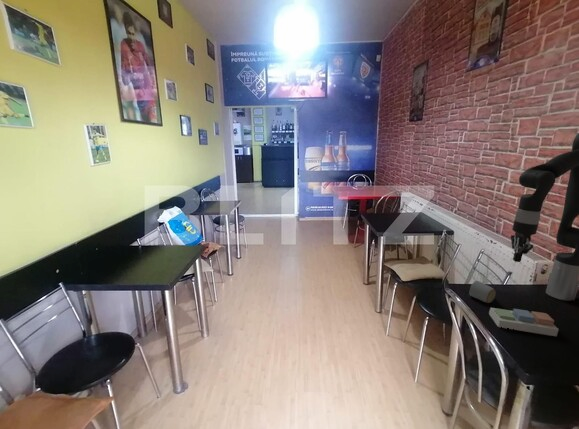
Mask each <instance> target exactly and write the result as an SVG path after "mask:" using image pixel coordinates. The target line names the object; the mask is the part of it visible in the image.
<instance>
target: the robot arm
mask: <svg viewBox="0 0 579 429" xmlns="http://www.w3.org/2000/svg"><path fill="white" fill-rule="evenodd" d="M568 172H569V176H568V183H567V187H566V193H565V197H564V206H563V211H562V216H561V219H560V222H559V226H558V229H557V232H556V233H557V234H556V238H555V239H556V244H558V245H559V246H563V247H567V248H571V249H574V251H573V252H559V253H556V255H555V258H554V261H553V262H554V263H553V266H552V269H551V272H550V276H549V278H548V279H549V280H548V282H547V286H546V289H545V293H546V294H547V295H548V296H550V297H552V298H555V299H558V300H561V301H565V302H566V301H575V300H576V295H577V293H578V290H579V228H578V227H574V226H573V223H574V221H575V219H576V218H578V216H579V132H578V133H577V134H576V135H575V136H574V139H573V142H572V146H571V150H570V151H567V152H564V153H561V154H558V155H556V156H554V157H553V158H551V159H550V160H548V161H546V162H545V163H542V164H538V165H535V166H532V167H530V168H527V169H526V170H524V171H522V173H521V174H520V175H519V178H518V183H519V184H520V185H521V186H522V187H524V188H528V189H535V191H534V192H533V193H525V194H522V195H521V196H520V199H519V203H518V208H517V210H516V212H515V217H514V221H513V225H512V229H511V230H512V232H513V231H514V234H513V235H512V234H511V235H510V240H511V248H512V249H513V256H512V260H513V261H514V262H515V263H521V261H522V258H523V255H527V254H528V253H529V252H530V251H532V249H533V248H534V244H531V241H532V236H533V235H534V236H535V235H536V234H537V232H538V227H539V223H540V220H541V212H542V208H543V205H544V201H545V199H546V198H547V197H548V195H549V193H550V192H551V190H552V188H553V187H554V185H555V183H556V179H558V178H560V177H561V176H563V175H564V174H567V173H568Z"/></svg>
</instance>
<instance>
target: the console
mask: <svg viewBox="0 0 579 429" xmlns="http://www.w3.org/2000/svg"><path fill="white" fill-rule="evenodd" d="M496 309H498V308H496ZM503 310H505V308H503ZM509 311H510V312H511V313H512V312H513V310H510V309H509ZM488 315H489V316H490V318H491V319H492V321H493V322H494V324H495V325H496V326H497V327H498V328H501V327H502V328H503V329H507V328H509V330H513V329H514V330H515V331H520V332H525V333H526V332H527V333H533V334H539V335H545V336H550V337H552V336H553V337H558V332H559V330H560V329H559V328H558V327H557V326H556V325H555V324H553V326H548V325H542V324H537V323H536V322H535V321H534V323H529V322H522V321H518V320H517V319H516V318H515V320H509V319H503V318H499V317H498V315H497V314H496V313H495V307H490V308H489V311H488ZM514 330H513V331H514Z"/></svg>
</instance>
